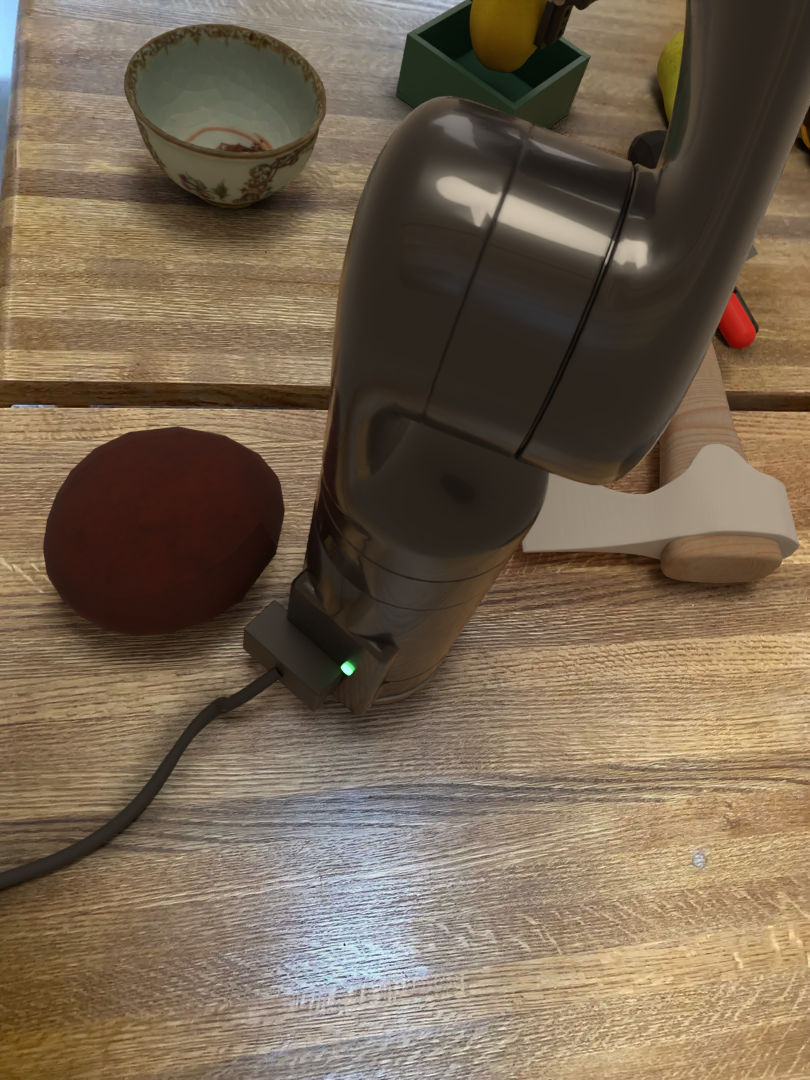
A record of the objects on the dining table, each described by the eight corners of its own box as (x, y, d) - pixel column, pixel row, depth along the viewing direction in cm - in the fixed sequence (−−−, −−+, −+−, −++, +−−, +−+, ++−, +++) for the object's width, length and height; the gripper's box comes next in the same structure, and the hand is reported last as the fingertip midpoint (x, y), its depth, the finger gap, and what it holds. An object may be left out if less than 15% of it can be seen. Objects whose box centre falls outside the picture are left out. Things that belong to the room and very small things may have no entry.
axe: (730, 208, 66) (821, 554, 52) (705, 259, 71) (782, 590, 57) (502, 196, 65) (532, 547, 51) (491, 249, 70) (516, 584, 56)
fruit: (658, 18, 79) (627, 128, 76) (723, 3, 75) (693, 117, 73) (675, 65, 83) (647, 170, 81) (737, 53, 80) (709, 162, 78)
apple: (535, 94, 71) (568, -2, 64) (460, 81, 70) (485, -19, 63) (530, 46, 74) (561, -52, 67) (458, 33, 73) (482, -68, 66)
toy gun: (645, 214, 61) (709, 170, 59) (699, 283, 71) (755, 247, 68) (700, 320, 57) (770, 278, 55) (749, 378, 67) (811, 344, 64)
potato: (68, 659, 39) (99, 681, 49) (332, 548, 43) (311, 589, 52) (-20, 445, 40) (27, 508, 50) (241, 356, 44) (237, 431, 54)
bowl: (334, 147, 69) (345, 54, 62) (295, 265, 63) (303, 176, 56) (167, 101, 68) (159, 1, 61) (110, 216, 62) (95, 119, 55)
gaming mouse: (658, 264, 70) (680, 227, 67) (618, 139, 77) (636, 99, 73) (728, 267, 71) (753, 231, 68) (683, 144, 78) (704, 105, 74)
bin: (495, 168, 72) (514, 109, 67) (395, 95, 74) (406, 33, 69) (568, 113, 77) (591, 56, 72) (472, 46, 79) (488, -14, 74)
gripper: (461, -281, 54) (411, -11, 68) (645, -167, 51) (553, 87, 66) (529, -303, 57) (468, -42, 72) (705, -198, 54) (604, 51, 69)
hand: (509, 19), depth 69 cm, fingers closed on apple, 6 cm apart
